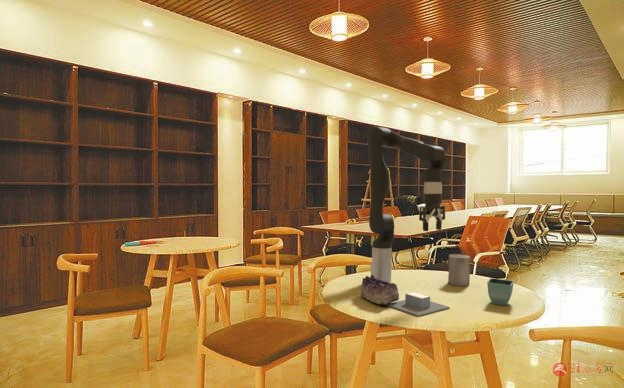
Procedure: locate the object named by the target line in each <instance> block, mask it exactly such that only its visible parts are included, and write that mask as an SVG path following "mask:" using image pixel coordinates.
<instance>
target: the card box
mask: <svg viewBox="0 0 624 388" xmlns="http://www.w3.org/2000/svg"><path fill="white" fill-rule="evenodd" d="M404 298H405V299H404V300H405V304H407V305H410V306H413V307H416V308H419V309H424V308H428V307H430V301H431V296H428V295H425V294H423V293H418V292H415V291H413V292H408V293H405V297H404Z"/></svg>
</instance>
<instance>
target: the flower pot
mask: <svg viewBox="0 0 624 388" xmlns="http://www.w3.org/2000/svg"><path fill="white" fill-rule="evenodd" d="M486 284H487V295H488V297H489V300H490V302H491V303H492V304H493V305H500V306H507V305H508V303H509V301H510V299H511V297H512V294H513V290H514V289H513V287H514V280H508V279H500V278H494V277H493V278H492V277H490V278H489V279H488V281H487V283H486Z"/></svg>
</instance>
